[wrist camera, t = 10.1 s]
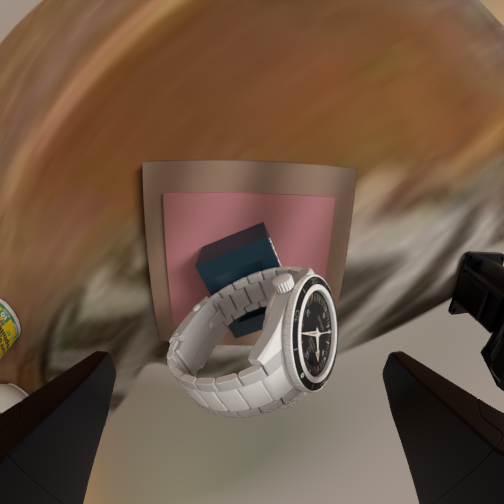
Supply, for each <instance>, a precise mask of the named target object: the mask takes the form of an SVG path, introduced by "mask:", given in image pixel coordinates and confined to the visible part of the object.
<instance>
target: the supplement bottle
mask: <svg viewBox="0 0 504 504" xmlns="http://www.w3.org/2000/svg"><path fill="white" fill-rule="evenodd" d="M20 332H21V327H20V323H19V320H18V318H17V316H16V314H15V312H14V311H13V310H12V308H11V307H10V306H9V305H8V304H7V303H6V302H5V301H4V300H2V299H0V359H1V358H2V356H3V355H4V354H5V353H6V351H7V350H8V349H9V348H10V346H11V345H12V344H13V343H14V342H15V341H16V339H17V338H18V337H19V335H20Z"/></svg>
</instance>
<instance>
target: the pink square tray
mask: <svg viewBox="0 0 504 504" xmlns="http://www.w3.org/2000/svg"><path fill="white" fill-rule="evenodd" d="M142 164H143V197H144V215H145V230H146V242H147V253H148V263H149V272H150V280H151V288H152V296H153V303H154V310H155V317H156V323H157V329H158V335H159V341H168V342H169V340H170V338H171V337H172V335H173V334H174V332H175V331H176V329H177V328H178V327H179V325H180V324H181V323H182V321H183V320H184V319H185V318H186V316H187V315H188V314H189V313H190V312H191V311H192V310H193V307H194V306H195V305H197V304H199V303H200V302H201V301H202V300H203V299H204V298H205V297H206V296H207V297H208V298H210V297H211V295H210V293H209V291H208V289H207V287H206V285H205V284H204V282H203V280H202V278H201V276H200V274H199V272H198V270H197V269H196V267H195V265H196V262H197V260H198V257H199V254H200V252H201V249H202V247H203V246H205V245H208V244H210V243H213V242H215V241H218V240H220V239H222V238H225V237H227V236H230V235H232V234H235V233H237V232H239V231H242V230H244V229H247V228H249V227H252V226H254V225H257V224H259V223H262V222H264V224H265V226H266V229H267V231H268V234H269V236H270V238H271V241H272V243H273V246H274V248H275V250H276V253H277V255H278V258H279V260H280V263H281V265H282V267H287V266H290V267H300V268H303V269H304V268H311V269H312V270H313V272H314V274H317V275H319V276H320V277H322V278H323V279H324V280H325V281H326V283H327V284H328V286H329V288H330V290H331V293H332V295H333V299H334V302H335V306H336V311H337V306H338V301H339V296H340V291H341V285H342V280H343V274H344V268H345V262H346V256H347V249H348V242H349V236H350V228H351V221H352V213H353V204H354V195H355V185H356V175H357V169H355V168H350V167H340V166H330V165H319V164H307V163H293V162H276V161H253V160H167V161H147V162H142ZM227 327H228V326H227ZM262 332H263V330H260V331H257V332H254V333H251V334H248V335H245V336H242V337H239V338H236V339H235V337H234V336H233V334H232V332H231V330H230V329H229V327H228V332H227V333H226V334H225V335H224V336H223V337H222V339H221V340H220V341H219V342H218V344H220V345H255V344H256V342H257V341H258V339H259V337H260V336H261V334H262Z"/></svg>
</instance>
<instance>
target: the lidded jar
mask: <svg viewBox="0 0 504 504" xmlns="http://www.w3.org/2000/svg"><path fill="white" fill-rule="evenodd" d="M27 396H29V395H28V394H27V393H26V392H25V391H24V390H22V389H21V388H20V387H18V386H16V385H15V384H12V383H8V384H0V414H1V413H2V412H4V411H6V410H7V409H9V408H10V407H12V406H14V405H15V404H17V403H18V402H20V401H21V402H22V400H23V399H24V398H26V397H27Z"/></svg>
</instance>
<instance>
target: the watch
mask: <svg viewBox="0 0 504 504" xmlns="http://www.w3.org/2000/svg"><path fill="white" fill-rule="evenodd" d="M195 267H196V269H197V270H198V272H199V274H200V276H201V278H202V280H203V282H204V284H205V285H206V287H207V289H208V291H209V293H210V295H211V297H210V298H208V297H207V296H206V297H205V298H204V299H203V300H202V301H201V302H200V303H199V304H197V305H195V306H194V307H193V310H192V311H191V312H190V313H189V314H188V315H187V316H186V318H185V319H184V320H183V321H182V323H181V324H180V325H179V327H178V328H177V329H176V331H175V332H174V334H173V335H172V337H171V338H170V340H169V343H170V347H169V351H168V354H167V360H168V361H167V363H168V367H169V369H170V371H171V372H172V374H173V375H174V376H175V378H176V379H177V380H178V381H179V383H180V384H181V385H182V386H183V388H184V389H185V390H186V391H187V392H188V394H189V395H190V396H191V397H192V398H193V399H194V400H195V402H196V403H197V404H198V405H199V406H201V407H202V408H205V410H207V411H209V412H211V413H213V414H216V415H221V416H224V417H232V418H239V417H251V416H256V415H260V414H261V413H268V412H271V411H274V410H276V409H279V408H288V407H289V406H291V405H293V404H294V403H296V402H297V401H298V400H300V399H301V398H302V397H303V396H304V395H305V394H307V393H315V392H318V391H319V390H320V389H321V388H323V386H324V385H325V384H326V382H327V381H328V379H329V377H330V375H331V372H332V369H333V366H334V363H335V358H336V353H337V346H338V319H337V311H336V306H335V302H334V299H333V295H332V293H331V290H330V288H329V286H328V284H327V283H326V281H325V280H324V279H323V278H322V277H320V276H319V275H317V274H314V272H313V270H312V269H311V268H304V269H303V268H300V267H290V266H287V267H282V265H281V263H280V260H279V258H278V255H277V253H276V250H275V248H274V246H273V243H272V241H271V238H270V236H269V234H268V231H267V229H266V226H265V224H264V222H262V223H259V224H257V225H254V226H252V227H249V228H247V229H244V230H242V231H239V232H237V233H235V234H232V235H230V236H227V237H225V238H222V239H220V240H218V241H215V242H213V243H210V244H208V245H205V246H203V247H202V249H201V252H200V254H199V257H198V260H197V262H196V265H195ZM227 326H228V327H229V329H230V330H231V332H232V334H233V336H234V337H235V339H236V338H239V337H242V336H245V335H248V334H251V333H254V332H257V331H260V330H263V332H262V334H261V336H260V337H259V339H258V341H257V342H256V344H255V346H254V347H253V349H252V350H251V352H250V355H249V358H248V360H249V361H250V363H251V364H256V365H254V366H252V367H250V368H248V369H245V370H243V371H241V372H239V374H238V376H237V374H235V373H233V374H230V375H226V376H222V377H218V378H217V379H216V380H215V378H198V379H197V378H196V377H195V376H196V375H197V372H198V369H201V368H203V367H204V365H205V363H206V361H207V359H208V357H209V356H210V354H211V352H212V351H213V349H214V348H215V346H216V345H217V344H218V342H219V341H220V340H221V339H222V337H223V336H224V335H225V334H226V333H227V332H228V327H227Z"/></svg>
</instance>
